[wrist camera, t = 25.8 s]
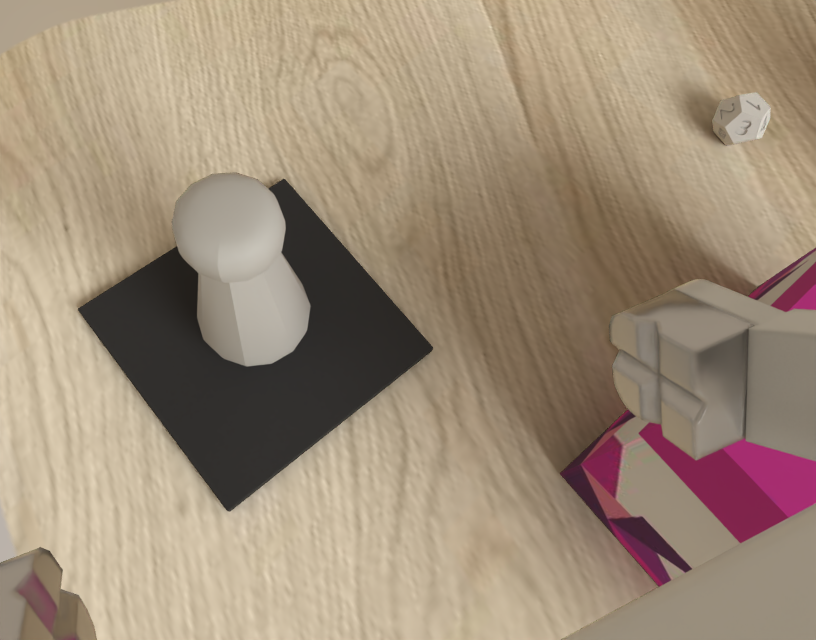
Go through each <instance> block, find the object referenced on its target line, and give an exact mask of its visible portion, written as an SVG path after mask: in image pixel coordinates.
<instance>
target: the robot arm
mask: <svg viewBox="0 0 816 640" xmlns="http://www.w3.org/2000/svg"><path fill="white" fill-rule="evenodd" d="M609 335H610V342H611V343H612V344H613V345H614V346H616V347H617V348H618V349H619V352H618V354H617V356H616V359H615V361H614V363H613V365H612V371H613V379H614V386H615V388H616V390H617V392H618V394H619V396H620V399H621V401H622V402H623V403H624V405H625V406H626V407H627V408H628V410H629V411H630V412H631V413H633V414H634V415H635V416H636V417H638V418H639V419H640V420H642V421H646V422H651V423H656V424H661V427H662V434H663V437H665V438H666V439H667V440H669V441H670V442H671V443H673V444H674V445H676V446H677V447H678V448H680V449H681V450H682V451H684V452H685V453H687V454H688V455H689V456H691V457H692V458H693V459H695V460H698V459H700V458H703V457H705V456H707V455H709V454H712V453H714V452H716V451H718V450H720V449H723V448H725V447H727V446H729V445H732V444H734V443H736V442H738V441H740V440H743V439H745V438H746V441H747V442H750V443H754V444H757V445H761V446H764V447H768V448H771V449H775V450H778V451H782V452H785V453H789V454H792V455H796V456H799V457H802V458H806V459H809V460H813V461H816V310H807V309H793V310H790V311H788V312H784V311H782V310H779V309H777V308H774V307H772V306H770V305H767V304H765V303H762V302H760V301H757V300H755V299H752V298H750V297H747V296H745V295H742V294H740V293H738V292H735V291H733V290H730V289H728V288H725V287H723V286H720V285H718V284H715V283H713V282H711V281H708V280H706V279H694V280H692V281H689V282H687V283H685V284H683V285H681V286H678V287H676V288H674V289H672V290H669V291H667V292H666V293H664V294H662V295H659V296H657V297H655V298H652V299H650V300H648V301H645V302H643V303H641V304H638V305H636V306H634V307H631V308H629V309H627V310H624V311H622V312H620V313H617V314H615V315H613V316H612V317H611V321H610V325H609ZM62 571H63V570H62V568H61V567H60V565H59V564H58V562H57V561H56V560H55V558H54V557H53V555H52V554H51V552H50V551H48V550H46V549H43V548H41V547H40V548H37V549H35V550H32V551H29V552H27V553H24V554H22V555H19V556H16V557H14V558H11V559H9V560H6V561H3V562H1V563H0V640H97V638H96V633H95V628H94V625H93V622H92V620H91V617H90V615H89V612H88V610H87V608H86V606H85V605H84V603H83V602H82V600H81V598H80V597H79V595H77V594H74V593H71V592H68V591H65V590H62V589H61V581H62ZM561 640H816V503H815V504H813V505H811V506H810V507H808V508H806V509H804V510H802V511H800V512H798V513H796V514H795V515H793V516H791V517H789V518H787V519H785V520H783V521H782V522H780V523H778V524H776V525H774V526H772V527H770V528H768V529H767V530H765V531H763V532H761V533H759V534H757V535H755V536H753V537H752V538H750V539H748V540H746V541H744V542H742V543H740V544H738V545H737V546H735V547H733V548H731V549H729V550H727V551H725V552H723V553H722V554H720V555H718V556H716V557H714V558H712V559H710V560H708V561H707V562H705V563H703V564H701V565H699V566H697V567H695V568H694V569H692V570H690V571H688V572H686V573H684V574H682V575H680V576H679V577H677V578H675V579H673V580H671V581H669V582H667V583H665V584H664V585H662V586H660V587H658V588H656V589H654V590H652V591H650V592H649V593H647V594H645V595H643V596H641V597H639V598H637V599H635V600H634V601H632V602H630V603H628V604H626V605H624V606H622V607H621V608H619V609H617V610H615V611H613V612H611V613H609V614H607V615H606V616H604V617H602V618H600V619H598V620H596V621H594V622H593V623H591V624H589V625H587V626H585V627H583V628H581V629H579V630H578V631H576V632H574V633H572V634H570V635H568V636H566V637H565V638H563V639H561Z"/></svg>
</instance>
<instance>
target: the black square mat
mask: <svg viewBox="0 0 816 640" xmlns="http://www.w3.org/2000/svg"><path fill="white" fill-rule="evenodd" d="M269 190H270V191H271V192H272V193H273V194H274V195H275V197H276V199H277V201H278V204H279V206H280V209H281V211H282V214H283V217H284V219H285V225H286V230H285V236H284V242H283V248H282V251H281V253H282V254H283V256H284V257H285V259H286V260H287V262H288V263H289V265H290V266H291V268H292V269H293V271H294V272H295V274H296V275H297V277H298V279H299V280H300V282H301V283H302V285H303V287H304V290H305V293H306V295H307V298H308V300H309V303H310V313H309V320H308V327H307V331H306V333H305V335H304V336H303V338H302V339H301V341H300V342H299V343H298V345H297V346H296V348H295V349H294V351H293V352H291V353H289V354H288V355H286V356H284V357H282V358H281V359H279V360H277V361H276V362H274V363H272V364H265V365H256V366H244V365H241V364H238V363H235V362H232V361H229V360H226V359H224V358H222V357H221V356H220V355H219V354H218V353H217V352H216V351H215V350H214V349H213V348H212V347H211V346H209V345H208V344H207V343H206V342H205V341H204V340H203V336H202V333H201V329H200V326H199V322H198V319H197V303H198V272H197V271H196V270H195V269H194V268H192V267H191V266H190V265H189V264H188V263H187V262H186V261H185V260H184V259H183V258H182V256H181V255H180V253H179V251H178V247H175V248H173V249H172V250H170V251H169V252H167V253H166V254H164V255H162V256H161V257H159V258H158V259H156V260H154V261H153V262H151V263H150V264H148V265H146V266H145V267H143V268H142V269H140V270H139V271H137V272H135V273H134V274H132V275H131V276H129V277H127V278H126V279H124V280H123V281H121V282H120V283H118V284H116V285H115V286H113V287H112V288H110V289H108V290H107V291H105V292H104V293H102V294H100V295H99V296H97V297H96V298H94V299H93V300H91V301H89V302H88V303H86V304H85V305H83V306H81V307H80V308H78V311H79V312H80V313H81V315H82V316H83V317H84V319H85V320H86V321H87V323H88V324H89V325H90V327H91V328H92V329H93V331H94V332H95V333H96V335H97V336H98V338H99V339H100V340H101V342H102V343H103V344H104V346H105V347H106V348H107V350H108V351H109V352H110V354H111V355H112V356H113V358H114V359H115V360H116V362H117V363H118V364H119V366H120V367H121V368H122V370H123V371H124V373H125V374H126V375H127V377H128V378H129V379H130V381H131V382H132V383H133V385H134V386H135V387H136V389H137V390H138V391H139V393H140V394H141V395H142V397H143V398H144V399H145V401H146V402H147V403H148V405H149V406H150V408H151V409H152V410H153V412H154V413H155V414H156V416H157V417H158V418H159V420H160V421H161V422H162V424H163V425H164V426H165V428H166V429H167V430H168V432H169V433H170V434H171V436H172V437H173V438H174V440H175V441H176V443H177V444H178V445H179V447H180V448H181V449H182V451H183V452H184V453H185V455H186V456H187V457H188V459H189V460H190V461H191V463H192V464H193V465H194V467H195V468H196V469H197V471H198V472H199V473H200V475H201V476H202V477H203V479H204V480H205V482H206V483H207V484H208V486H209V487H210V488H211V490H212V491H213V492H214V494H215V495H216V496H217V498H218V499H219V500H220V502H221V503H222V504H223V506H224V507H225V508H226V510H227V511H231V510H232V509H234V508H235V507H236V506H237V505H239V504H240V503H241V502H242V501H244V500H245V499H246V498H248V497H249V496H250V495H251V494H253V493H254V492H255V491H256V490H258V489H259V488H260V487H261V486H263V485H264V484H265V483H266V482H268V481H269V480H270V479H271V478H273V477H274V476H275V475H276V474H278V473H279V472H280V471H281V470H283V469H284V468H285V467H286V466H288V465H289V464H290V463H292V462H293V461H294V460H295V459H297V458H298V457H299V456H300V455H302V454H303V453H304V452H305V451H307V450H308V449H309V448H310V447H312V446H313V445H314V444H315V443H317V442H318V441H319V440H320V439H322V438H323V437H324V436H325V435H327V434H328V433H329V432H330V431H332V430H333V429H334V428H336V427H337V426H338V425H339V424H341V423H342V422H343V421H344V420H346V419H347V418H348V417H349V416H351V415H352V414H353V413H354V412H356V411H357V410H358V409H359V408H361V407H362V406H363V405H364V404H366V403H367V402H368V401H369V400H371V399H372V398H373V397H375V396H376V395H377V394H378V393H380V392H381V391H382V390H383V389H385V388H386V387H387V386H388V385H390V384H391V383H392V382H393V381H395V380H396V379H397V378H398V377H400V376H401V375H402V374H403V373H405V372H406V371H407V370H408V369H410V368H411V367H412V366H413V365H415V364H416V363H417V362H419V361H420V360H421V359H422V358H424V357H425V356H426V355H427V354H429V353H430V352H431V351H432V349H433V347H432V346H431V345H430V344H429V342H428V341H427V340H426V339H425V338H424V337H423V336H422V334H421V333H420V332H419V331H418V330H417V329H416V328H415V326H414V325H413V324H412V323H411V322H410V321H409V320H408V319H407V317H406V316H405V315H404V314H403V313H402V312H401V311H400V309H399V308H398V307H397V306H396V305H395V304H394V303H393V301H392V300H391V299H390V298H389V297H388V296H387V295H386V294H385V292H384V291H383V290H382V289H381V288H380V287H379V286H378V284H377V283H376V282H375V281H374V280H373V279H372V278H371V276H370V275H369V274H368V273H367V272H366V271H365V270H364V268H363V267H362V266H361V265H360V264H359V263H358V262H357V261H356V259H355V258H354V257H353V256H352V255H351V254H350V253H349V251H348V250H347V249H346V248H345V247H344V246H343V245H342V243H341V242H340V241H339V240H338V239H337V238H336V237H335V236H334V234H333V233H332V232H331V231H330V230H329V229H328V228H327V226H326V225H325V224H324V223H323V222H322V221H321V220H320V218H319V217H318V216H317V215H316V214H315V213H314V212H313V211H312V209H311V208H310V207H309V206H308V205H307V204H306V203H305V201H304V200H303V199H302V198H301V197H300V196H299V195H298V193H297V192H296V191H295V190H294V189H293V188H292V187H291V185H290V184H289V183H288V182H287V181H286V180H285V179H283V180H281V181H280V182H278V183H277V184H275V185H273V186H272V187H270V188H269Z"/></svg>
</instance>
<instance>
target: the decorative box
mask: <svg viewBox="0 0 816 640" xmlns="http://www.w3.org/2000/svg"><path fill="white" fill-rule="evenodd" d="M748 297H750V298H752V299H755V300H757V301H760V302H762V303H765V304H767V305H770V306H772V307H774V308H777V309H779V310H782V311H784V312H788V311H790V310H793V309H807V310H816V248H815V249H813V250H812V251H810V252H809V253H807V254H806V255H804V256H803V257H801V258H800V259H798V260H797V261H795V262H794V263H792V264H791V265H789V266H788V267H787V268H785V269H784V270H782V271H781V272H779V273H778V274H776V275H775V276H773V277H772V278H770V279H769V280H767V281H766V282H764V283H763V284H761V285H760V286H759V287H757V288H756V289H755V290H754V291H753V292H752V293H751V294H750V295H749V296H748ZM560 475H561V476H562V477H563V478H564V479H565V480H566V481H567V483H568V484H569V485H570V486H571V487H572V488H573V489H574V490H575V492H576V493H577V494H578V495H579V496H580V497H581V498H582V500H583V501H584V502H585V503H586V504H587V505H588V506H589V507H590V509H591V510H592V511H593V512H594V513H595V514H596V515H597V517H598V518H599V519H600V520H601V521H602V522H603V523H604V524H605V526H606V527H607V528H608V529H609V530H610V531H611V532H612V534H613V535H614V536H615V537H616V538H617V539H618V540H619V541H620V543H621V544H622V545H623V546H624V547H625V548H626V549H627V551H628V552H629V553H630V554H631V555H632V556H633V557H634V558H635V560H636V561H637V562H638V563H639V564H640V565H641V566H642V568H643V569H644V570H645V571H646V572H647V573H648V574H649V575H650V577H651V578H652V579H653V580H654V581H655V582H656V583H657V585H658V586H659V587H660V586H662V585H664V584H665V583H667V582H669V581H671V580H673V579H675V578H677V577H679V576H680V575H682V574H684V573H686V572H688V571H690V570H692V569H694V568H695V567H697V566H699V565H701V564H703V563H705V562H707V561H708V560H710V559H712V558H714V557H716V556H718V555H720V554H722V553H723V552H725V551H727V550H729V549H731V548H733V547H735V546H737V545H738V544H740V543H742V542H744V541H746V540H748V539H750V538H752V537H753V536H755V535H757V534H759V533H761V532H763V531H765V530H767V529H768V528H770V527H772V526H774V525H776V524H778V523H780V522H782V521H783V520H785V519H787V518H789V517H791V516H793V515H795V514H796V513H798V512H800V511H802V510H804V509H806V508H808V507H810V506H811V505H813V504H815V503H816V461H813V460H809V459H806V458H802V457H799V456H796V455H792V454H789V453H785V452H782V451H778V450H775V449H771V448H768V447H764V446H761V445H757V444H754V443H750V442H747V441H746V438H745V439H743V440H740V441H738V442H736V443H734V444H732V445H729V446H727V447H725V448H723V449H720V450H718V451H716V452H714V453H712V454H709V455H707V456H705V457H703V458H700V459H698V460H695V459H693V458H692V457H691V456H689V455H688V454H687V453H685V452H684V451H682V450H681V449H680V448H678V447H677V446H676V445H674V444H673V443H671V442H670V441H669V440H667V439H666V438H665V437H663V434H662V427H661V424H656V423H651V422H646V421H642V420H640V419H639V418H638V417H636V416H635V415H634V414H633V413H631V412H630V411H629V410H627V411H626V412H625V413H624V414H623V415H621V416H620V417H619V418H618V419H617V420H616V421H615V422H614V423H613V424H612V425H611V426H610V427H609V428H608V429H607V430H606V431H604V432H603V433H602V434H601V435H600V436H599V437H598V438H597V439H596V440H595V441H594V442H593V443H592V444H591V445H590V446H589V447H587V448H586V449H585V450H584V451H583V452H582V453H581V454H580V455H579V456H578V457H577V458H576V459H575V460H574V461H573V462H572V463H570V464H569V465H568V466H567V467H566V468H565V469H564V470H563V471H562V472H561V473H560Z"/></svg>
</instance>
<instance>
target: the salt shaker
mask: <svg viewBox="0 0 816 640" xmlns="http://www.w3.org/2000/svg"><path fill="white" fill-rule="evenodd" d="M172 230H173V234H174V237H175V241H176V244H177V247H178V251H179V253H180V255H181V256H182V258H183V259H184V260H185V261H186V262H187V263H188V264H189V265H190V266H191V267H192V268H194V269H195V270H196V271H197V272H198V303H197V319H198V322H199V326H200V329H201V333H202V336H203V340H204V341H205V342H206V343H207V344H208V345H209V346H211V347H212V348H213V349H214V350H215V351H216V352H217V353H218V354H219V355H220V356H221V357H222V358H224V359H226V360H229V361H232V362H235V363H238V364H241V365H244V366H256V365H265V364H272V363H274V362H276V361H277V360H279V359H281V358H282V357H284V356H286V355H288V354H289V353H291V352H293V351H294V349H295V348H296V346H297V345H298V343H299V342H300V341H301V339H302V338H303V336H304V335H305V333H306V331H307V327H308V320H309V313H310V303H309V300H308V298H307V295H306V293H305V290H304V287H303V285H302V283H301V282H300V280H299V279H298V277H297V275H296V274H295V272H294V271H293V269H292V268H291V266H290V265H289V263H288V262H287V260H286V259H285V257H284V256H283V254H282V253H281V251H282V248H283V242H284V236H285V230H286V225H285V219H284V217H283V214H282V211H281V209H280V206H279V204H278V201H277V199H276V197H275V195H274V194H273V193H272V192H271V191H270V190H269V189H268V188H267V187H266V186H265V185H263V184H262V183H261V182H260V181H259V180H258V179H255V178H252V177H249V176H245V175H242V174H239V173H219V174H211V175H209V176H207V177H205V178H203V179H201V180H199V181H197V182H195V183H193V184H191V185H190V186H189V187H188V188H187V190H186V191H185V192H184V193H183V194H182V195H181V196H180V198H179V199H178V200H177V201H176V205H175V210H174V214H173V219H172Z"/></svg>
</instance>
